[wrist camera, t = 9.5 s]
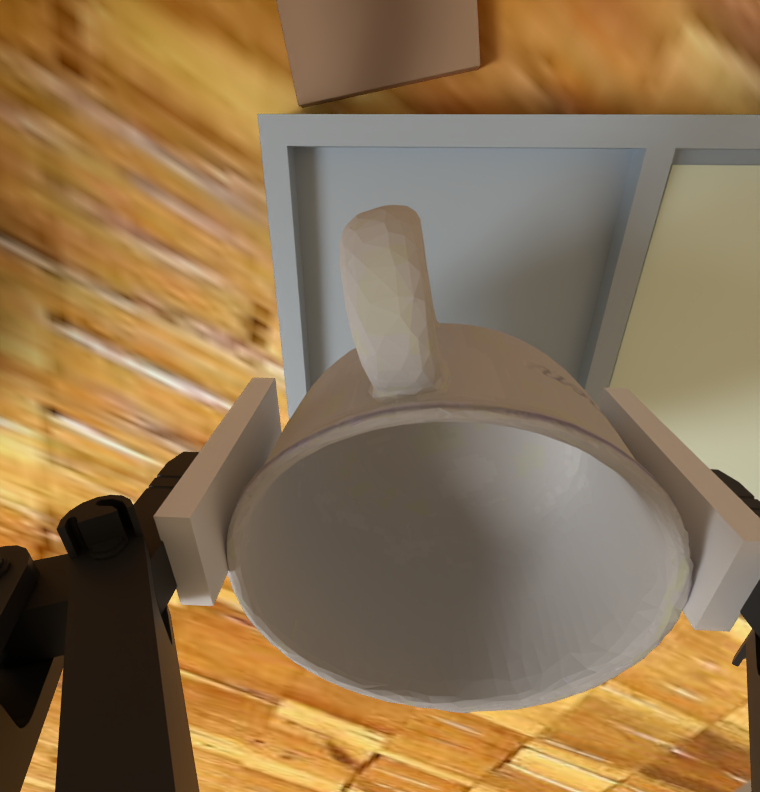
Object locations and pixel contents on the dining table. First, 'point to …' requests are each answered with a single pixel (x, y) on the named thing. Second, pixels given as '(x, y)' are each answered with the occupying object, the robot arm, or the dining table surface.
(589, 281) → the grey divided tray
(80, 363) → the dining table surface
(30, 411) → the dining table surface
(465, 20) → the walnut coaster
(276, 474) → the teacup
